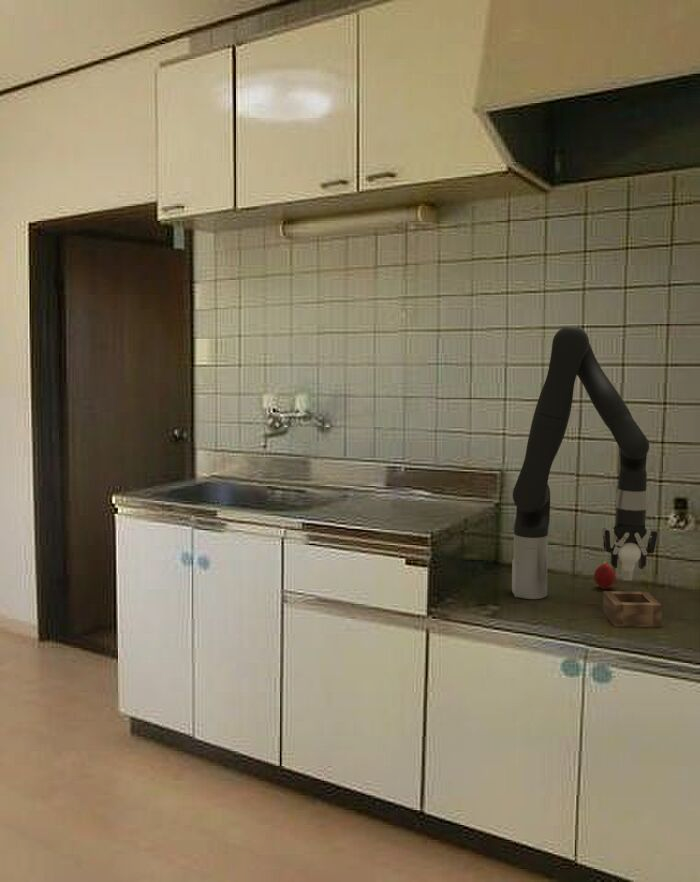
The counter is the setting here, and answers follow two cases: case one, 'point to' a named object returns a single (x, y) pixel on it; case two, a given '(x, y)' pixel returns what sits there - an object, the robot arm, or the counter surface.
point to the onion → (604, 576)
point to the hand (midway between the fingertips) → (627, 567)
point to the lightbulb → (628, 559)
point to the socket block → (632, 609)
